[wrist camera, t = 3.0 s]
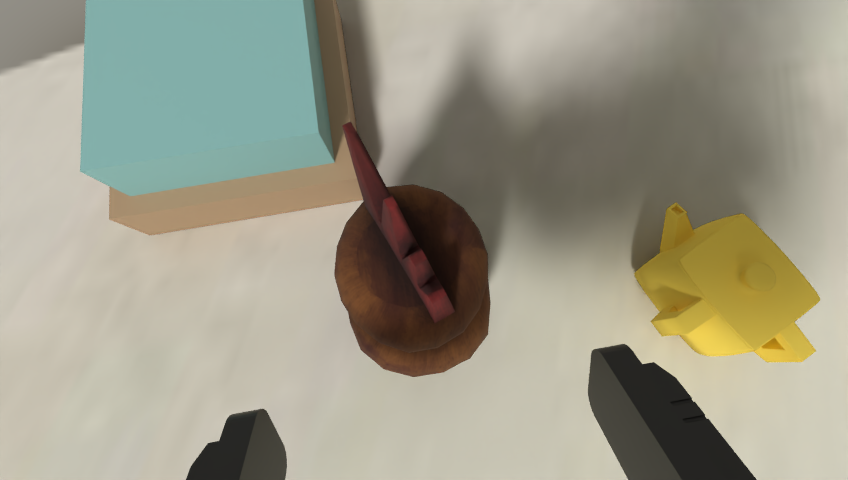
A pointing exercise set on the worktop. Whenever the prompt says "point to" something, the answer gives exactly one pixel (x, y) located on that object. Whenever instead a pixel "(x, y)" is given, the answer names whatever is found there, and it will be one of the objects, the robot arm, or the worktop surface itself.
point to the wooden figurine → (411, 274)
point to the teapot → (727, 289)
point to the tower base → (215, 109)
